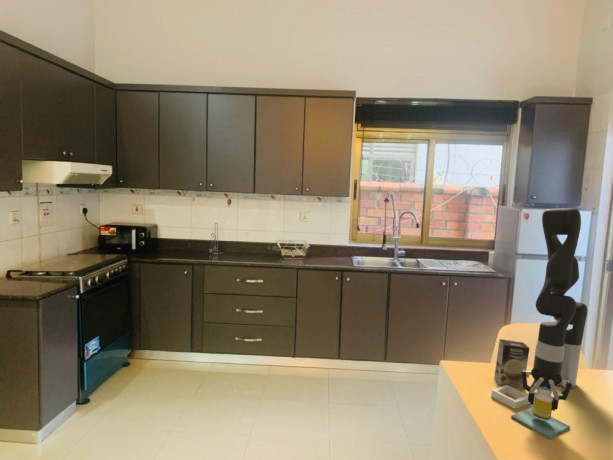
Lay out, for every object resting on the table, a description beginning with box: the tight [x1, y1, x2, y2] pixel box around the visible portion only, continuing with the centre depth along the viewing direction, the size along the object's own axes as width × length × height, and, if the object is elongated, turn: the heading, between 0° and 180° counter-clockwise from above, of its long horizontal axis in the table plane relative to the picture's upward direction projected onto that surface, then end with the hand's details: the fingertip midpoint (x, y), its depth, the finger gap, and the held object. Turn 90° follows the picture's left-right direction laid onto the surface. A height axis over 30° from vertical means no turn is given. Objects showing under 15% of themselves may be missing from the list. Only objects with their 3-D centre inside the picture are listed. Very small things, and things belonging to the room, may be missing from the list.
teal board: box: [510, 406, 571, 440], centre depth 126 cm, size 12×12×1 cm
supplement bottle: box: [531, 386, 554, 421], centre depth 125 cm, size 5×5×10 cm
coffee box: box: [494, 338, 530, 389], centre depth 152 cm, size 9×6×16 cm
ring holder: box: [490, 385, 531, 410], centre depth 139 cm, size 9×9×2 cm
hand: (542, 406), depth 125 cm, fingers closed on supplement bottle, 5 cm apart
